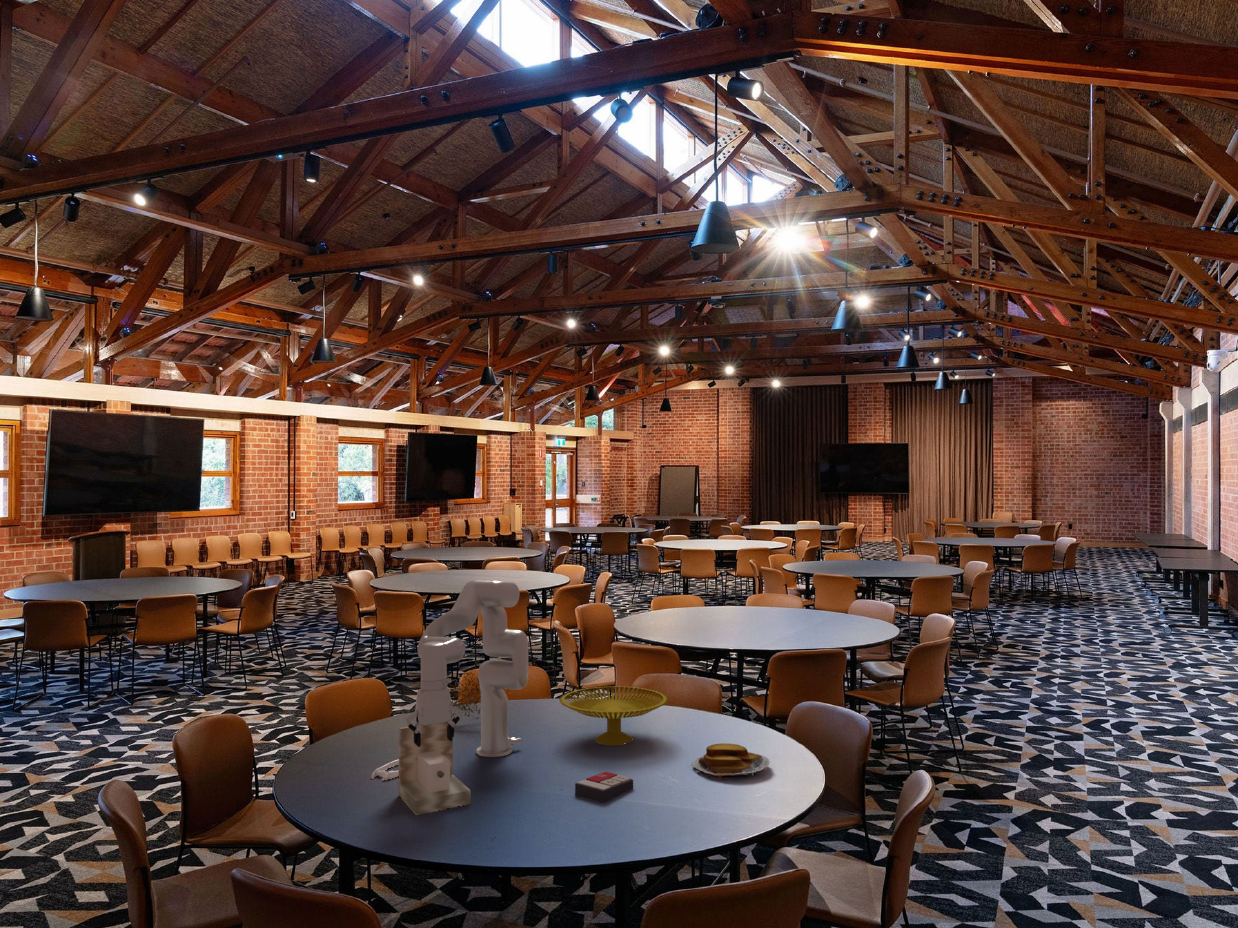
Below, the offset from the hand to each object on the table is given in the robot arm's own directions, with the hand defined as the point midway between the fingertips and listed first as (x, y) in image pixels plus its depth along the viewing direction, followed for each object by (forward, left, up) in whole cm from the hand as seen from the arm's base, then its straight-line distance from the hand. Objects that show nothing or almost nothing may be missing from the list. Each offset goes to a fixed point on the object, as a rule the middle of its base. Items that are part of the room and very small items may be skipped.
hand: (434, 742), depth 238 cm
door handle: (0, -31, -17) cm, 35 cm away
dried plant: (-41, -69, -16) cm, 82 cm away
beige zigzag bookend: (0, +1, -16) cm, 16 cm away
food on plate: (-91, +25, -17) cm, 96 cm away
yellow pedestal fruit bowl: (-75, -23, -16) cm, 80 cm away
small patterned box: (-46, +21, -17) cm, 53 cm away
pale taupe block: (0, 0, -12) cm, 12 cm away
